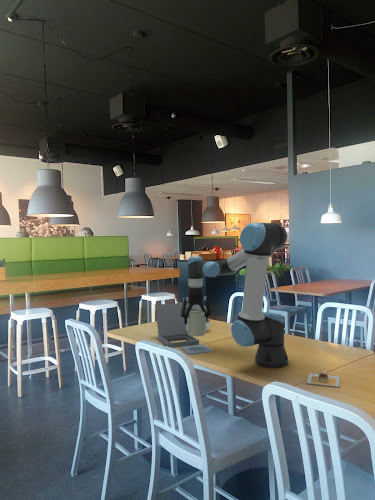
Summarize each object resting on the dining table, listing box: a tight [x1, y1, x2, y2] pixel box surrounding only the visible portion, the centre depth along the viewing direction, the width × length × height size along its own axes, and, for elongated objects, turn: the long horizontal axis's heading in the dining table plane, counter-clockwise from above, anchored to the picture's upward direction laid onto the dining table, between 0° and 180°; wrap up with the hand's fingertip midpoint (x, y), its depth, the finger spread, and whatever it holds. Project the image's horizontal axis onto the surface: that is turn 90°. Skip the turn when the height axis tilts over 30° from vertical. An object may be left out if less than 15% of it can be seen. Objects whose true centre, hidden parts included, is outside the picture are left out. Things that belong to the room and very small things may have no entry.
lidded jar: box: [205, 317, 211, 333], centre depth 250 cm, size 11×11×9 cm
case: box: [155, 302, 200, 349], centre depth 226 cm, size 23×18×20 cm
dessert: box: [306, 370, 340, 388], centre depth 160 cm, size 12×12×5 cm
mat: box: [180, 344, 214, 355], centre depth 208 cm, size 13×13×1 cm
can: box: [187, 310, 206, 337], centre depth 208 cm, size 9×9×12 cm
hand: (196, 329), depth 208 cm, fingers closed on can, 9 cm apart
